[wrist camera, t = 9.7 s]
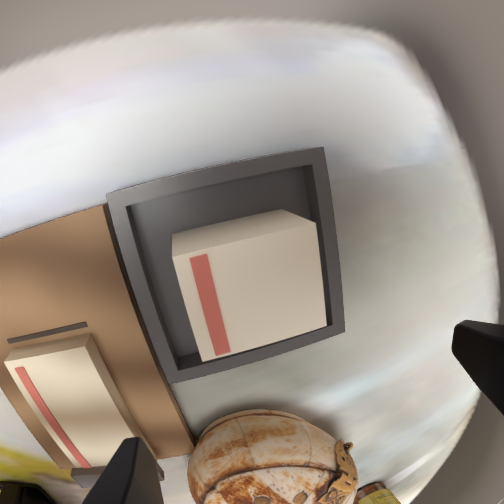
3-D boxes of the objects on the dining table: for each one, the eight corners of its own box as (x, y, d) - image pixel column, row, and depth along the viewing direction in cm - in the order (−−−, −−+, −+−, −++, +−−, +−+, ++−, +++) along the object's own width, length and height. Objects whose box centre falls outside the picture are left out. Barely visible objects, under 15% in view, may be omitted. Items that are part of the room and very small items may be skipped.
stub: (294, 291, 19) (327, 326, 15) (194, 318, 18) (202, 362, 14) (281, 208, 18) (316, 223, 13) (172, 233, 17) (172, 257, 12)
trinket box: (308, 493, 27) (335, 547, 20) (167, 492, 23) (175, 562, 15) (371, 404, 25) (420, 462, 17) (202, 390, 20) (221, 481, 13)
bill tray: (331, 318, 21) (345, 331, 19) (168, 365, 19) (169, 384, 17) (308, 148, 18) (323, 146, 16) (113, 191, 16) (105, 194, 14)
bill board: (195, 441, 21) (200, 475, 18) (62, 458, 19) (56, 489, 16) (106, 202, 16) (91, 211, 13) (-47, 257, 14) (-76, 274, 11)
